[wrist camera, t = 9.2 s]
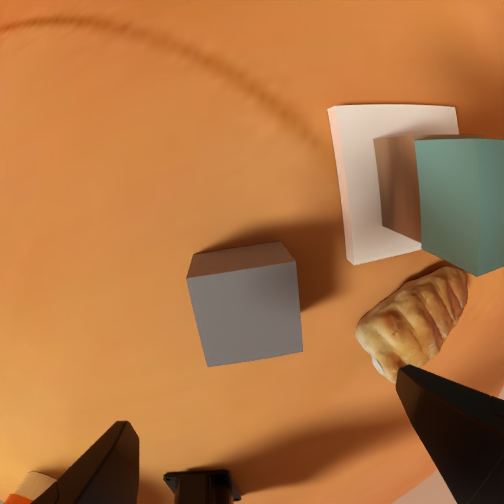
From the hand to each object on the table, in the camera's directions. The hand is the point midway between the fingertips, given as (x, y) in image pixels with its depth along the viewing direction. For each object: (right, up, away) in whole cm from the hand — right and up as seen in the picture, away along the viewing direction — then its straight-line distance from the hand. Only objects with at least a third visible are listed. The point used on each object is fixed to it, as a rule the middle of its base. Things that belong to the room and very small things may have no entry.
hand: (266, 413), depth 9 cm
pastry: (+11, 0, +12) cm, 16 cm away
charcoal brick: (-1, +3, +10) cm, 10 cm away
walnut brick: (+9, +9, +8) cm, 15 cm away
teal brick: (+9, +8, +4) cm, 13 cm away
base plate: (+9, +10, +9) cm, 16 cm away
